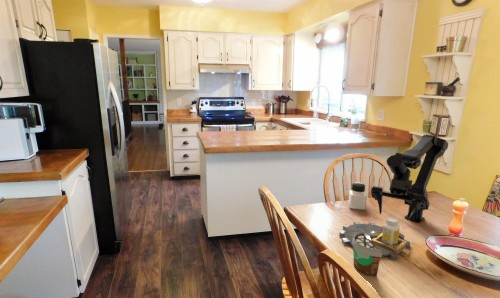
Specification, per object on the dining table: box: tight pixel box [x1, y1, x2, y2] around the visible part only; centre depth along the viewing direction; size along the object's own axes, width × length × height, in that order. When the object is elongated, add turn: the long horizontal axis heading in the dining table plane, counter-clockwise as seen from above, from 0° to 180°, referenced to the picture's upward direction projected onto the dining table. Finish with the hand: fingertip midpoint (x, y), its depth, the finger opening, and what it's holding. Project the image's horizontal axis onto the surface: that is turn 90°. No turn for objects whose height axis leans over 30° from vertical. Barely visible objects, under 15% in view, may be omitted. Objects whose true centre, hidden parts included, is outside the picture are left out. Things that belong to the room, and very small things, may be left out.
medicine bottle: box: [348, 182, 368, 211], centre depth 141 cm, size 7×7×12 cm
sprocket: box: [339, 221, 411, 261], centre depth 110 cm, size 25×25×4 cm
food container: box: [352, 232, 383, 278], centre depth 93 cm, size 12×6×10 cm, turn 5°
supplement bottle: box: [382, 216, 401, 247], centre depth 105 cm, size 5×5×10 cm
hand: (393, 216), depth 106 cm, fingers open, 9 cm apart
